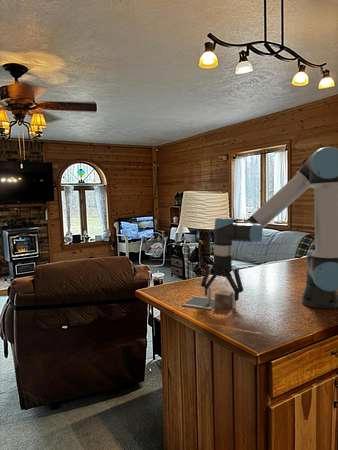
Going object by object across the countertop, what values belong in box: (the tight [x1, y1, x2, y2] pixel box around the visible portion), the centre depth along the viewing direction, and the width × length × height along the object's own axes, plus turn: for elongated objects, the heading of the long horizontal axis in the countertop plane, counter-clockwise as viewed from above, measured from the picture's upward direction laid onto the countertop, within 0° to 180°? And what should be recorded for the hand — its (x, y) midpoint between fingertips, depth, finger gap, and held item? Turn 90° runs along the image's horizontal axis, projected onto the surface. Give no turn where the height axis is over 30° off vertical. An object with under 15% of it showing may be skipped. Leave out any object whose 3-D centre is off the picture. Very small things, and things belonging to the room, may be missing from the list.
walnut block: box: [214, 290, 234, 311], centre depth 143 cm, size 6×6×6 cm
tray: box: [182, 295, 215, 311], centre depth 148 cm, size 13×13×1 cm
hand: (221, 305), depth 144 cm, fingers open, 11 cm apart
